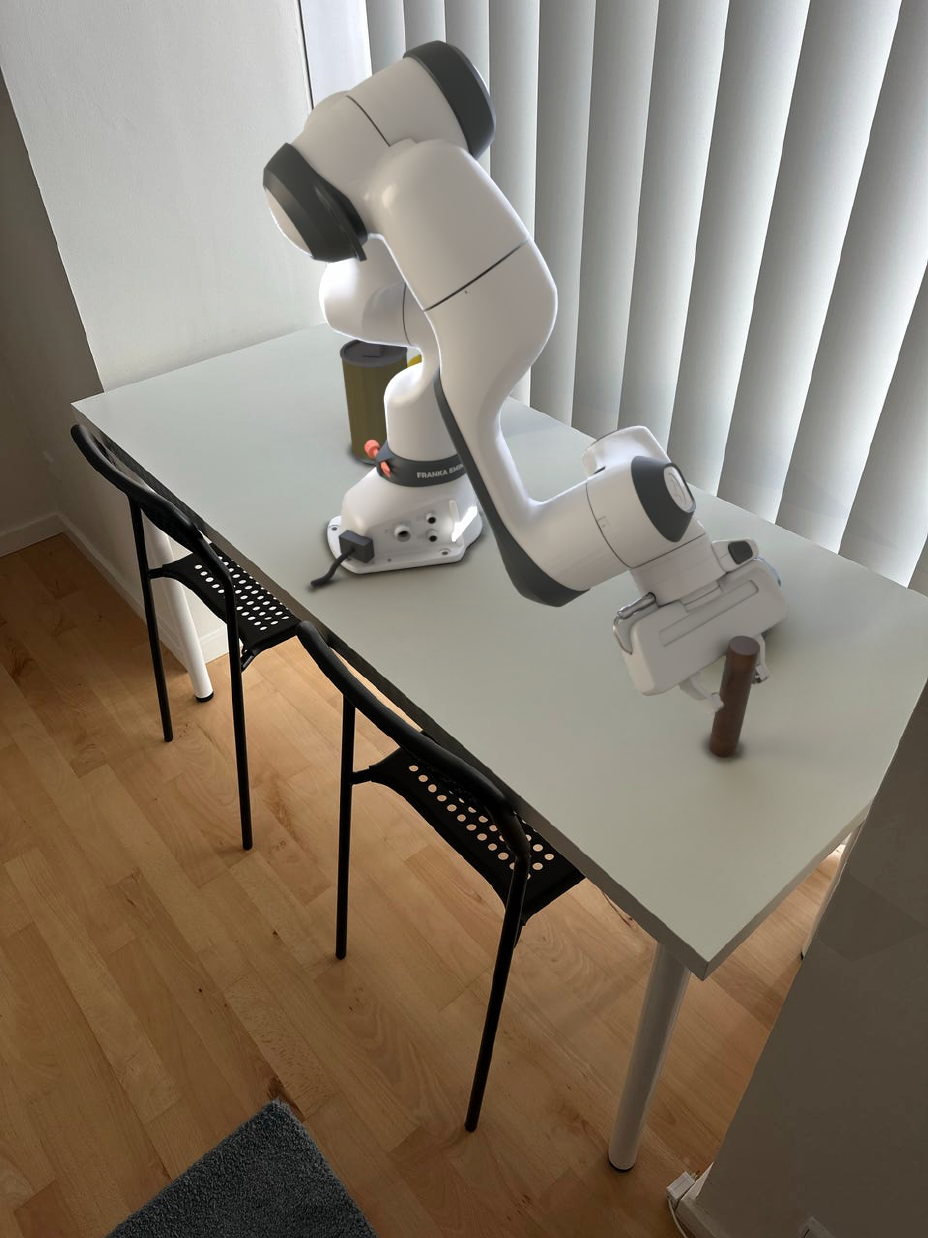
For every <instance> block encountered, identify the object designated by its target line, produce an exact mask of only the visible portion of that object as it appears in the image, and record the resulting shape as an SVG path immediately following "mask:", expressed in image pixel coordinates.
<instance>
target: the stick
mask: <svg viewBox="0 0 928 1238" xmlns="http://www.w3.org/2000/svg"><path fill="white" fill-rule="evenodd" d="M759 650H760V646H759V643H758V642H757V641H756V640H755V639H753V638H751V637H748V636H736V637H733V638H732V639H731V640H730V641H729V645H728V650H727V654H726V655H725V661H724V666H723V671H722V676H721V679H720V680H721V681H720V686H719V690H718V693H719V695H720V697H721V701H723V703H724V707H723V708H722V709H720V710H719V711H717V712H716V713H714V715H713V716H714V717H713V721H712V725H711V726H712V727H711V731H710V737H709V742H708V748H709V750H710V752H711V753H712V754H713V755H715V756H717V757H718V758H731V757H733V756H734V755H736V753H737V750H738V746H739V741H740V737H741V733H742V729H743V724H744V721H745V720H744V719H745V716H746V711H747V706H748V702H749V698H750V693H751V689H752V685H753V684H752V681H753V676H754V672H755V667H756V663H757V659H758V654H759Z"/></svg>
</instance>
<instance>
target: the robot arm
mask: <svg viewBox="0 0 928 1238" xmlns="http://www.w3.org/2000/svg"><path fill="white" fill-rule="evenodd" d="M496 124H497V116H496V110H495V106H494V103H493V100H492V98H491V94H490V91H489V88H488V86H487V84H486V81H485V79H484V78H483V75H482V74H481V73H480V72H479V70H478V68H477V67H476V66H475V65H474V64H473V63H472V62H471V60H470V59H469V57H468V56H467V55H466V54H465V53H464V52H463V51H462V50H461V49H460V48H458V47H457V46H456V45H453V44H451V43H449V42H445V41H442V40H440V39H436V40H431V41H427V42H425V43H423V44H420V45H417V46H416V47H413V48H411V49H409V50H407V51H405V52H404V53H403V55H402V58H401V59H399V60H397V61H395V62H393V63H392V64H389V65H388V66H386V67H384V68H382V69H380V70H379V71H377V72H375V73H374V74H372V75H370V76H369V77H367V78H365V79H364V80H362V81H361V82H359V83H357V85H354V86H353V87H351V88H350V89H349V90H347V89H346V90H340V91H337V92H334V93H332V94H330V95H328V96H326V97H325V98H323V99H322V100H320V101H319V102H318V103H317V104H316V105H315V106H314V108H313V109H312V110H311V111H310V113H309V114H308V116H307V118H306V120H305V123H304V126H303V129H302V131H301V132H300V134H298V136H296V137H295V139H293V141H292V142H290V143H288V142H284V143H283V145H281V147H280V148H278V150H276V152H275V153H274V154H273V155H272V157H271V158H270V159H269V160H268V162H267V163H266V165H265V166H264V168H263V169H262V171H263V173H262V187H263V190H264V192H265V194H266V201H267V205H268V209H269V211H270V214H271V216H272V218H273V221H274V222H275V225H276V226H277V228H278V229H279V230H280V232H281V233H282V235H283V236H284V237H285V238H286V239H287V240H288V242H290V243H291V244H292V245H293V246H294V247H295V248H297V249H298V250H300V251H301V252H302V253H305V254H306V255H307V256H309V257H310V258H311V260H313V261H318V262H323V263H329V264H328V265H327V267H326V268H325V270H324V273H323V275H322V277H321V281H320V285H319V292H318V293H319V294H318V295H319V305H320V309H321V313H322V315H323V317H324V319H325V321H326V324H328V326H329V327H330V328H331V330H332V331H334V332H335V333H336V334H337V333H338V334H340V335H344V336H346V337H349V338H352V339H354V340H355V339H358V340H361V341H364V342H367V343H375V344H384V345H393V346H402V347H407V348H410V349H411V348H412V349H417V350H418V351H420V354H421V355H422V363H419V364H416V365H414V366H411V367H409V368H407V369H405V370H403V371H402V372H400V373H398V374H397V375H396V376H395V377H394V378H393V379H392V380H391V381H390V383H389V384H388V386H387V388H386V391H385V395H384V405H385V416H386V427H387V440H386V442H385V444H384V445H383V447H382V448H381V447H380V446H379V444H378V443H377V442H376V441H375V440H370V441H368V442H367V444H365V451H366V452H367V453H368V455H369V457H371V458H375V463H376V465H375V467H374V468H373V469H372V470H371V471H369V472H368V473H367V474H366V475H365V476H363V477H362V478H361V479H360V480H359V481H358V482H356V483H355V484H354V485H353V486H352V487H351V488H349V490H347V491H346V492H345V494H344V496H343V499H342V504H341V510H340V515H337V516H335V517H333V518H331V519H330V520H329V523H328V525H327V532H326V533H327V534H326V535H327V542H328V546H329V548H330V551H331V552H332V555H333V556H334V558H335V560H334V561H333V563H332V564H331V566H329V567H330V568H329V570H328V571H327V573H325V574H324V575H322V577H319V578H316V579H313V580H310V585H311V587H312V588H315V587H318V586H320V585H323V584H325V583H327V582H329V581H330V580H331V579H332V578H333V577H334V576H335V573H336V571H337V569H338V568H339V566H342V567H343V568H345V569H346V570H348V571H349V572H353V573H354V574H369V573H378V572H384V571H385V572H386V571H393V570H401V569H408V568H417V567H426V566H432V565H439V564H448V563H449V564H450V563H455V562H458V561H461V560H462V559H463V557H464V555H465V552H466V549H467V548H468V547H469V546H470V545H471V544H472V543H474V542H475V541H476V539H477V538H478V537H479V536H480V535H481V532H482V530H483V519H482V517H481V515H480V514H481V513H480V511H479V509H478V506H477V501H476V498H477V500H478V502H479V504H480V506H481V508H482V512H483V513H484V515H485V517H486V520H487V522H488V524H489V526H490V528H491V531H492V534H493V537H494V539H495V542H496V545H497V549H498V551H499V554H500V556H501V560H502V563H503V565H504V569H505V570H506V572H507V575H508V578H509V579H510V581H511V583H512V585H513V587H514V588H515V590H516V591H517V593H518V594H520V596H522V597H523V598H525V599H527V600H529V601H532V602H533V603H537V604H540V605H544V606H548V607H553V608H562V607H564V606H565V605H567V604H568V603H571V602H572V601H574V600H575V599H578V598H579V597H581V596H583V595H584V594H586V593H587V592H589V591H591V589H592V588H594V587H596V586H598V585H600V584H602V583H605V582H607V581H609V580H611V579H613V578H616V577H617V576H620V575H623V574H624V573H626V572H628V573H629V574H630V576H631V578H632V580H633V582H634V584H635V587H636V588H637V590H638V592H639V594H640V596H641V597H640V598H638V599H636V600H635V601H634V602H632V603H630V604H629V605H625V606H623V607H621V608H620V609H618V611H617V612H616V616H615V617H614V620H613V622H612V628H611V629H612V634H613V636H614V638H615V640H616V642H617V644H618V646H619V648H620V651H621V654H622V658H623V661H624V664H625V666H626V669H627V672H628V674H629V677H630V679H631V682H632V684H633V686H634V688H635V690H636V691H637V692H638V693H640V694H642V695H644V696H645V697H651V696H656V695H662V694H665V693H666V692H668V691H670V690H671V689H673V688H674V687H676V686H679V688H680V690H681V691H682V692H684V693H685V694H686V695H688V696H689V697H691V698H692V699H694V700H695V701H697V702H698V704H699V707H700V709H701V711H702V713H704V715H706V716H709V715H715V713H716V712H717V711H719V710H720V709H722V708H723V707H724V703H723V701H721V697H720V695H719V691H715V692H714V691H713V692H710V691H709V690H708V689H706V688H705V687H704V686H702V685H701V683H703V680H704V679H703V678H702V675H701V674H700V672H701V671H702V670H704V669H705V668H707V667H708V666H710V665H712V664H713V663H716V662H717V661H718V660H720V659H722V658H723V657H726V655H727V650H728V645H729V641H730V640H731V639H732V638H733V637H736V636H748V637H751V638H753V639H755V640H756V641H757V642H758V643H759V646H760V650H759V654H758V659H757V663H756V667H755V672H754V676H753V681H752V685H757V684H762V683H763V682H765V681H767V680H768V679H769V678H770V677H771V673H770V670H769V668H768V666H767V664H766V641H765V639H764V638H762V635H761V633H762V632H764V631H765V630H767V629H769V628H770V627H771V628H773V627H774V626H775V625H777V624H779V623H780V622H782V621H784V620H785V619H786V618H787V617H788V611H789V604H788V601H787V598H786V596H785V594H784V593H783V590H782V588H780V586H779V584H778V582H777V580H776V578H775V577H774V575H773V573H772V571H771V570H770V568H769V567H768V566H767V565H766V563H764V562H763V561H762V560H759V559H754V558H756V557H757V556H760V555H759V554H760V549H759V546H758V544H757V542H756V541H755V539H754V538H751V537H743V538H734V539H733V538H732V539H722V540H721V539H720V540H714V541H712V539H711V538H710V535H709V533H708V532H707V530H706V528H705V526H704V525H703V524H702V523H701V521H699V520H698V518H697V517H696V515H695V514H694V513H695V511H696V509H697V503H696V500H695V497H694V496H693V494H692V491H691V490H690V489H691V488H690V487H689V485H688V483H687V481H686V479H685V477H684V475H683V473H682V471H681V469H680V468H679V466H678V465H677V464H676V463H674V462H672V461H671V460H670V458H669V456H668V455H667V453H666V452H665V450H664V448H663V447H662V445H661V444H660V442H659V441H658V440H657V439H656V437H655V436H654V435H653V433H652V432H651V430H650V429H649V428H648V427H646V426H643V425H629V426H626V427H623V428H618V429H616V430H613V431H611V432H609V433H607V434H605V435H603V436H601V437H599V438H598V439H597V440H595V441H593V442H592V443H591V444H590V445H589V446H588V447H587V448H586V449H585V450H584V451H583V454H582V456H581V461H582V465H583V469H584V472H585V476H586V478H587V479H584V480H583V481H582V482H580V483H577V484H575V485H574V486H572V487H570V488H568V489H566V490H564V491H562V492H561V493H559V494H557V495H555V496H553V497H551V498H550V499H547V500H545V501H538V500H534V499H533V498H531V497H530V495H529V493H528V490H527V488H526V486H525V484H524V480H523V478H522V477H521V475H520V472H519V470H518V467H517V465H516V463H515V461H514V458H513V456H512V454H511V451H510V449H509V446H508V445H507V441H506V440H505V437H504V435H503V432H502V428H501V413H502V410H503V408H504V405H505V403H506V401H507V400H508V398H509V397H510V395H511V393H512V392H513V391H514V389H515V388H516V387H517V385H518V384H519V383H520V382H521V381H522V379H523V378H524V377H525V375H526V374H527V373H528V371H529V370H530V369H531V367H532V366H533V364H534V363H535V362H536V361H537V359H538V357H539V356H540V355H541V353H542V351H543V350H544V348H545V346H546V345H547V343H548V341H549V339H550V337H551V335H552V332H553V329H554V326H555V323H556V319H557V316H558V315H557V314H558V304H559V303H558V301H559V299H558V289H557V286H556V283H555V281H554V278H553V276H552V274H551V270H550V269H549V267H548V264H547V262H546V260H545V259H544V256H543V254H542V253H541V251H540V249H539V248H538V245H537V244H536V242H535V241H534V239H533V237H532V236H531V235H530V232H529V231H528V229H527V228H526V225H525V224H524V222H523V221H522V219H521V217H520V216H519V215H518V213H517V211H516V210H515V209H514V207H513V206H512V204H511V203H510V201H509V200H508V199H507V198H506V196H505V195H504V193H503V192H502V190H501V189H500V188H499V187H498V185H497V184H496V182H495V181H494V180H493V179H492V178H491V177H490V175H489V174H488V173H487V171H485V169H484V168H483V167H482V165H481V164H480V163H479V162H478V160H480V158H481V157H482V156H483V155H484V154H485V153H486V151H487V150H488V149H489V147H490V146H491V145H492V143H493V142H494V140H495V135H496V126H497V125H496ZM475 496H476V497H475Z"/></svg>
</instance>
